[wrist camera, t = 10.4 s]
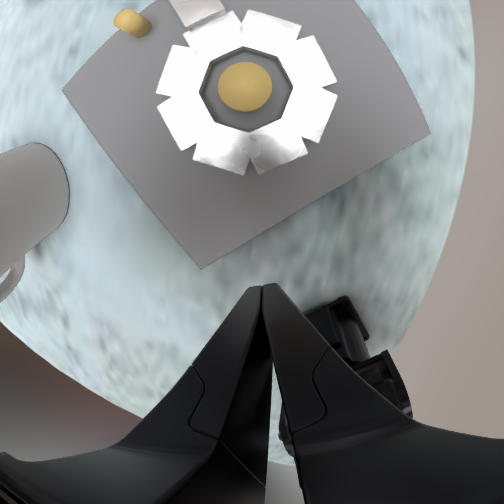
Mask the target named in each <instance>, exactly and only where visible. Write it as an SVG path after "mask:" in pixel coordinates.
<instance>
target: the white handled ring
mask: <svg viewBox="0 0 504 504" xmlns="http://www.w3.org/2000/svg"><path fill="white" fill-rule="evenodd" d="M169 1H170V3H171V4H172V6H173V8H174V9H175V11H176V12H177V14H178V16H179V17H180V19H181V21H182V22H183V24H184V26H185V27H186V28H187V29H188V30H189V31H187V32H186V33H184V34H183V35H184V37H185V39H186V41H187V42H188V44H189V46H190V47H191V48H189V47H183V46H178V45H173V46H172V48H171V51H170V53H169V56H168V59H167V61H166V64H165V67H164V70H163V73H162V76H161V79H160V82H159V85H158V88H157V91H156V93H158V94H163V95H168V96H172V98H170V99H168V100H167V101H165V102H164V103H162V104H160V105H159V106H157V108H158V110H159V111H160V113H161V115H162V117H163V119H164V120H165V122H166V124H167V126H168V128H169V130H170V131H171V133H172V135H173V137H174V139H175V140H176V142H177V144H178V146H179V148H180V149H181V151H182V150H184V149H186V148H187V147H189V146H191V145H193V144H195V143H197V142H198V143H197V146H196V149H195V153H194V156H193V159H192V160H195V161H199V162H202V163H205V164H209V165H212V166H215V167H218V168H222V169H225V170H228V171H231V172H234V173H237V174H240V175H243V176H244V173H245V171H246V168H247V165H248V162H249V160H250V159H251V161H252V163H253V165H254V167H255V169H256V171H257V173H258V175H259V174H262V173H264V172H266V171H268V170H271V169H273V168H275V167H277V166H280V165H282V164H284V163H287V162H289V161H291V160H294V159H296V158H298V157H301V156H303V155H306V154H308V152H307V149H306V147H305V145H304V143H303V140H302V138H301V136H302V137H304V138H307V139H309V140H312V141H314V142H316V143H319V141H320V138H321V136H322V133H323V131H324V128H325V126H326V123H327V121H328V118H329V116H330V114H331V111H332V109H333V106H334V104H335V101H336V99H337V95H335V94H333V93H331V92H329V91H326V90H324V89H322V88H320V87H323V86H326V85H329V84H332V83H335V82H337V81H336V78H335V76H334V74H333V72H332V70H331V68H330V66H329V64H328V62H327V60H326V58H325V56H324V54H323V52H322V50H321V49H320V47H319V45H318V43H317V41H316V39H315V38H314V36H309V37H306V38H303V39H299V40H296V38H297V36H298V34H299V31H300V29H301V27H302V26H301V25H298V24H295V23H292V22H289V21H286V20H283V19H280V18H277V17H274V16H271V15H267V14H264V13H260V12H257V11H253V10H249V9H248V11H247V13H246V15H245V17H244V20H243V22H242V24H241V22H240V21H239V19H238V18H237V16H236V15H235V13H234V11H230V12H228V13H226V10H225V8H224V6H223V5H222V3H221V2H220V0H169ZM243 50H246V51H249V52H253V53H256V54H259V55H262V56H266V57H269V58H272V59H275V60H277V62H278V64H279V65H280V67H281V69H282V71H283V73H284V75H285V77H286V79H287V81H288V83H289V85H290V87H291V91H290V94H289V96H288V99H287V101H286V104H285V106H284V109H283V112H282V114H281V117H280V118H279V119H277V120H275V121H272V122H270V123H268V124H266V125H263V126H261V127H259V128H257V129H254V130H252V131H250V132H248V131H245V130H242V129H239V128H235V127H232V126H229V125H226V124H222V123H219V122H217V121H216V119H215V117H214V116H213V114H212V112H211V110H210V108H209V106H208V105H207V103H206V101H205V99H204V97H203V95H202V92H203V89H204V87H205V84H206V81H207V78H208V76H209V73H210V70H211V68H212V65H213V64H214V63H216V62H218V61H220V60H223V59H225V58H227V57H229V56H231V55H233V54H236V53H238V52H240V51H243Z"/></svg>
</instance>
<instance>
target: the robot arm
mask: <svg viewBox="0 0 504 504" xmlns="http://www.w3.org/2000/svg"><path fill="white" fill-rule="evenodd" d="M344 302H346V303H344ZM364 336H365V337H364ZM368 339H369V334H368V332H367V330H366V328H365V326H364V324H363V323H362V321H361V319H360V317H359V315H358V313H357V311H356V310H355V308H354V306H353V304H352V302H351V301H350V299H349V298H348V297H342V298H340V299H338V300H337V301H335V302H333V303H331V304H329V305H327V306H325V307H323V308H321V309H319V310H317V311H315V312H313V313H311V314H309V315H307V316H304V314H303V313H302V312H301V311H300V310H299V309H298V307H297V306H296V305H295V304H294V303H293V302H292V300H291V299H290V298H289V297H288V296H287V295H286V293H285V292H284V291H283V290H282V289H281V288H280V286H279V285H278V284H277V283H272V284H266V285H263V287H262V286H254V287H249V288H248V289H247V290H246V291H245V293H244V294H243V295H242V297H241V298H240V299H239V301H238V302H237V304H236V305H235V306H234V308H233V309H232V310H231V312H230V313H229V314H228V316H227V317H226V318H225V320H224V321H223V323H222V324H221V325H220V327H219V328H218V329H217V331H216V332H215V333H214V335H213V336H212V337H211V339H210V340H209V341H208V343H207V344H206V345H205V347H204V348H203V349H202V351H201V352H200V353H199V355H198V356H197V357H196V359H195V360H194V361H193V363H192V365H191V366H189V368H188V369H187V370H186V372H185V373H184V374H183V376H182V377H181V378H180V379H179V380H178V382H177V383H176V384H175V385H174V387H173V388H172V389H171V390H170V391H169V392H168V393H167V394H166V396H165V397H164V398H163V399H162V400H161V401H160V402H159V403H158V404H157V405H156V406H155V407H154V408H153V409H152V410H151V411H150V412H149V413H148V414H147V415H146V416H145V417H144V418H143V420H142V421H140V422H139V423H138V424H137V425H136V426H135V428H134V429H132V430H131V431H130V433H128V434H127V435H126V436H125V437H124V438H122V439H121V440H120V441H118V442H117V443H115V444H113V445H111V446H108V447H106V448H103V449H99V450H95V451H91V452H87V453H82V454H77V455H73V456H68V457H63V458H57V459H51V460H45V461H37V462H27V461H21V460H18V459H16V458H15V457H13V456H11V455H10V454H8V453H7V452H1V453H0V504H264V501H265V486H266V474H267V461H268V445H269V429H270V411H271V391H272V369H273V363H274V367H275V372H276V376H277V380H278V385H279V389H280V393H281V398H282V406H281V414H280V421H279V434H278V436H279V439H280V440H281V441H283V444H284V446H285V449H286V451H287V452H288V454H289V455H290V456H293V457H294V461H295V464H296V468H297V473H298V479H299V485H300V488H301V489H302V492H303V497H304V502H305V504H504V439H494V438H487V437H481V436H475V435H470V434H464V433H459V432H454V431H449V430H445V429H441V428H436V427H432V426H428V425H425V424H422V423H420V422H417V421H415V420H413V414H412V408H411V404H410V400H409V397H408V393H407V390H406V388H405V385H404V383H403V380H402V378H401V376H400V374H399V372H398V370H397V368H396V366H395V364H394V362H393V360H392V358H391V356H390V354H389V352H388V350H385V351H383V352H381V354H379V355H376V356H374V357H372V358H370V355H369V352H368V350H367V347H366V344H365V342H364V341H366V340H368Z"/></svg>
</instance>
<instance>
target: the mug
mask: <svg viewBox="0 0 504 504" xmlns="http://www.w3.org/2000/svg"><path fill="white" fill-rule="evenodd" d="M68 202H69V187H68V181H67V177H66V174H65V171H64V168H63V166H62V164H61V162H60V161H59V159H58V158H57V156H56V155H55V154H54V153H53V152H52V151H51V150H50V149H49V148H48V147H46V146H44V145H41V144H36V143H32V144H26V145H23V146H20V147H18V148H15V149H13V150H10V151H7V152H5V153H2V154H0V277H1V276H2V275H3V274H4V273H5V272H6V271H8V270H9V269H10V268H11V269H10V272H9V274H8V275H7V277H6V278H5V280H4V281H3V282H2V283H1V284H0V303H1V302H2V301H3V300H4V299H5V298H6V297H7V296H8V295H9V294H10V293H11V292H12V291H13V290H14V288H15V287H16V286H17V284H18V282H19V281H20V279H21V277H22V275H23V272H24V268H25V254H26V253H27V252H28V251H30V250H31V249H32V248H33V247H34V246H35V245H37V244H38V243H39V242H40V241H42V240H43V239H44V238H46V237H47V236H48V235H50V234H51V233H52V232H53V231H55V230H56V229H57V228H58V227H59V226H60V224H61V223H62V221H63V220H64V218H65V215H66V213H67V209H68Z"/></svg>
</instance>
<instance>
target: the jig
mask: <svg viewBox="0 0 504 504" xmlns="http://www.w3.org/2000/svg"><path fill="white" fill-rule="evenodd" d="M220 2H221V3H222V5H223V6H224V8H225V10H226V13H228V12H230V11H234V13H235V15H236V16H237V18H238V19H239V21H240V22H241V24H242V22H243V20H244V17H245V15H246V13H247V11H248V9H249V10H253V11H257V12H260V13H264V14H267V15H271V16H274V17H277V18H280V19H283V20H286V21H289V22H292V23H295V24H298V25H301V26H302V27H301V29H300V31H299V34H298V36H297V38H296V40H299V39H303V38H306V37H309V36H314V38H315V39H316V41H317V43H318V45H319V47H320V49H321V50H322V52H323V54H324V56H325V58H326V60H327V62H328V64H329V66H330V68H331V70H332V72H333V74H334V76H335V78H336V81H337V82H335V83H332V84H329V85H326V86H323V87H320V88H322V89H324V90H326V91H329V92H331V93H333V94H335V95H337V99H336V101H335V104H334V106H333V109H332V111H331V114H330V116H329V118H328V121H327V123H326V126H325V128H324V131H323V133H322V136H321V138H320V141H319V143H316V142H314V141H312V140H309V139H307V138H304V137H302V136H301V138H302V140H303V143H304V145H305V147H306V149H307V152H308V154H306V155H303V156H301V157H298V158H296V159H294V160H291V161H289V162H287V163H284V164H282V165H280V166H277V167H275V168H273V169H271V170H268V171H266V172H264V173H262V174H259V175H258V173H257V171H256V169H255V167H254V165H253V163H252V161H251V159H250V160H249V162H248V165H247V168H246V171H245V173H244V176H243V175H240V174H237V173H234V172H231V171H228V170H225V169H222V168H218V167H215V166H212V165H209V164H205V163H202V162H199V161H195V160H192V159H193V156H194V153H195V149H196V146H197V143H198V142H197V143H195V144H193V145H191V146H189V147H187V148H186V149H184V150H182V151H181V149H180V148H179V146H178V144H177V142H176V140H175V139H174V137H173V135H172V133H171V131H170V130H169V128H168V126H167V124H166V122H165V120H164V119H163V117H162V115H161V113H160V111H159V110H158V108H157V106H159V105H160V104H162V103H164V102H165V101H167V100H168V99H170V98H172V96H168V95H163V94H158V93H156V91H157V88H158V85H159V82H160V79H161V76H162V73H163V70H164V67H165V64H166V61H167V59H168V56H169V53H170V51H171V48H172V46H173V45H178V46H183V47H189V48H191V47H190V46H189V44H188V42H187V41H186V39H185V37H184V35H183V34H184V33H186V32H187V31H189V30H188V29H187V28H186V27H185V26H184V24H183V22H182V21H181V19H180V17H179V16H178V14H177V12H176V11H175V9H174V8H173V6H172V4H171V3H170V1H169V0H156V1H155V2H154V3H152V4H151V5H149V6H148V7H147V8H145V9H144V10H143V11H141V12H140V13H139V14H138V13H137V12H135V11H134V10H132V9H129V8H128V9H124V10H122V11H120V12H119V13H118V14H117V15H116V16H115V18H114V25H115V27H117V28H119V29H120V30H119V31H117V32H116V33H115V34H114V35H113V36H112V37H111V38H110V39H109V40H108V41H106V42H105V43H104V44H103V45H102V46H101V47H100V48H99V49H98V50H97V51H96V52H95V53H94V54H93V55H92V56H91V57H90V58H89V59H88V60H87V62H86V63H85V64H84V65H83V66H82V67H81V68H80V69H79V70H78V71H77V72H76V74H75V75H74V76H73V77H72V78H71V79H70V81H69V82H68V83H67V84H66V85H65V87H64V88H63V89H62V92H63V93H64V95H65V96H66V98H67V99H68V101H69V102H70V103H71V105H72V106H73V108H74V109H75V111H76V112H77V114H78V115H79V116H80V118H81V119H82V121H83V122H84V123H85V125H86V126H87V128H88V129H89V130H90V132H91V133H92V135H93V136H94V137H95V139H96V140H97V141H98V143H99V144H100V145H101V147H102V148H103V150H104V151H105V152H106V154H107V155H108V156H109V158H110V159H111V160H112V161H113V163H114V164H115V165H116V167H117V168H118V169H119V171H120V172H121V173H122V175H123V176H124V177H125V178H126V180H127V181H128V182H129V184H130V185H131V186H132V187H133V189H134V190H135V191H136V192H137V194H138V195H139V196H140V197H141V199H142V200H143V201H144V202H145V204H146V205H147V206H148V207H149V209H150V210H151V211H152V212H153V214H154V215H155V216H156V217H157V218H158V220H159V221H160V222H161V223H162V224H163V226H164V227H165V228H166V229H167V230H168V232H169V233H170V234H171V235H172V236H173V238H174V239H175V240H176V241H177V242H178V244H179V245H180V246H181V247H182V248H183V249H184V251H185V252H186V253H187V254H188V255H189V256H190V257H191V259H192V260H193V261H194V262H195V263H196V264H197V266H198V267H199V268H200V269H203V268H204V267H206V266H208V265H209V264H211V263H212V262H214V261H216V260H217V259H219V258H221V257H222V256H224V255H226V254H227V253H229V252H231V251H232V250H234V249H235V248H237V247H239V246H240V245H242V244H244V243H245V242H247V241H249V240H250V239H252V238H254V237H255V236H257V235H259V234H260V233H262V232H264V231H265V230H267V229H269V228H270V227H272V226H274V225H275V224H277V223H279V222H280V221H282V220H284V219H285V218H287V217H289V216H290V215H292V214H294V213H295V212H297V211H299V210H300V209H302V208H304V207H305V206H307V205H309V204H311V203H312V202H314V201H316V200H317V199H319V198H321V197H322V196H324V195H326V194H327V193H329V192H331V191H333V190H334V189H336V188H338V187H339V186H341V185H343V184H344V183H346V182H348V181H350V180H351V179H353V178H355V177H356V176H358V175H360V174H362V173H363V172H365V171H367V170H368V169H370V168H372V167H374V166H375V165H377V164H379V163H380V162H382V161H384V160H386V159H387V158H389V157H391V156H393V155H394V154H396V153H398V152H399V151H401V150H403V149H405V148H406V147H408V146H410V145H412V144H413V143H415V142H417V141H419V140H420V139H422V138H424V137H426V136H427V135H429V134H431V132H430V130H429V127H428V125H427V123H426V120H425V118H424V116H423V113H422V111H421V109H420V107H419V104H418V102H417V100H416V98H415V96H414V94H413V92H412V90H411V88H410V86H409V84H408V82H407V80H406V78H405V76H404V74H403V73H402V71H401V69H400V67H399V65H398V64H397V62H396V60H395V59H394V57H393V55H392V54H391V52H390V50H389V49H388V47H387V45H386V44H385V42H384V41H383V39H382V38H381V36H380V35H379V33H378V32H377V30H376V29H375V27H374V26H373V24H372V23H371V22H370V20H369V19H368V17H367V16H366V15H365V13H364V12H363V11H362V9H361V8H360V7H359V6H358V4H357V3H356V2H355V1H354V0H220ZM290 91H291V87H290V85H289V83H288V81H287V79H286V77H285V75H284V73H283V71H282V69H281V67H280V65H279V64H278V62H277V60H275V59H272V58H269V57H266V56H262V55H259V54H256V53H253V52H249V51H246V50H243V51H240V52H238V53H236V54H233V55H231V56H229V57H227V58H225V59H223V60H220V61H218V62H216V63H214V64H213V65H212V68H211V70H210V73H209V76H208V78H207V81H206V84H205V87H204V89H203V92H202V95H203V97H204V99H205V101H206V103H207V105H208V106H209V108H210V110H211V112H212V114H213V116H214V117H215V119H216V121H217V122H219V123H222V124H226V125H229V126H232V127H235V128H239V129H242V130H245V131H248V132H250V131H252V130H254V129H257V128H259V127H261V126H263V125H266V124H268V123H270V122H272V121H275V120H277V119H279V118H280V117H281V114H282V112H283V109H284V106H285V104H286V101H287V99H288V96H289V94H290Z"/></svg>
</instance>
